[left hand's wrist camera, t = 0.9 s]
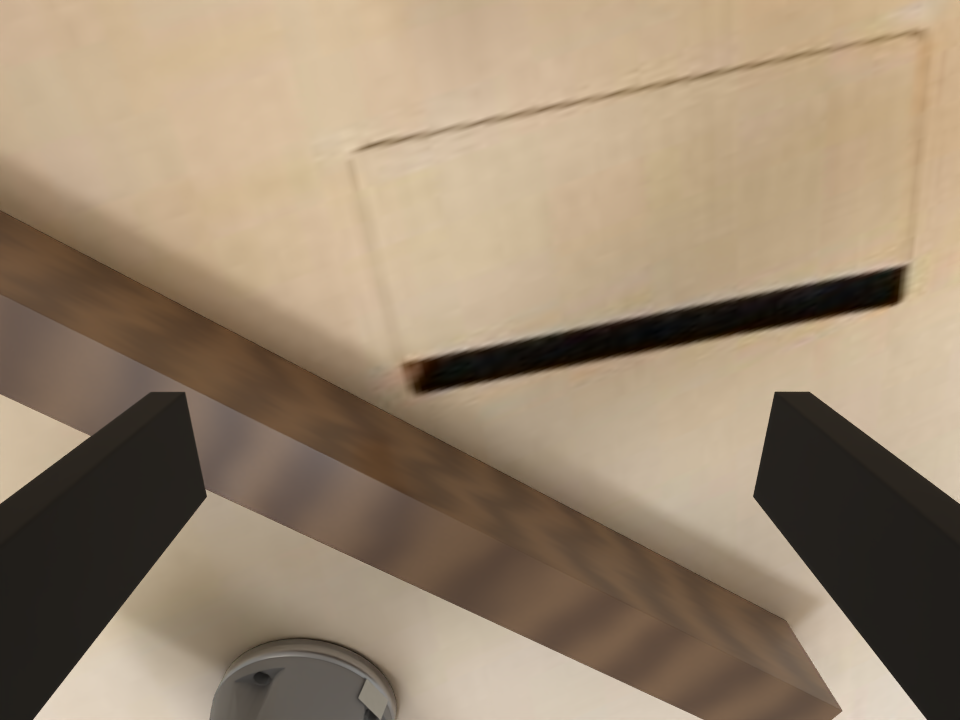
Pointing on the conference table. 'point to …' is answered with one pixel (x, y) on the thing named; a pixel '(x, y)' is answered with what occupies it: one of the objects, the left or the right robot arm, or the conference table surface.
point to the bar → (390, 490)
